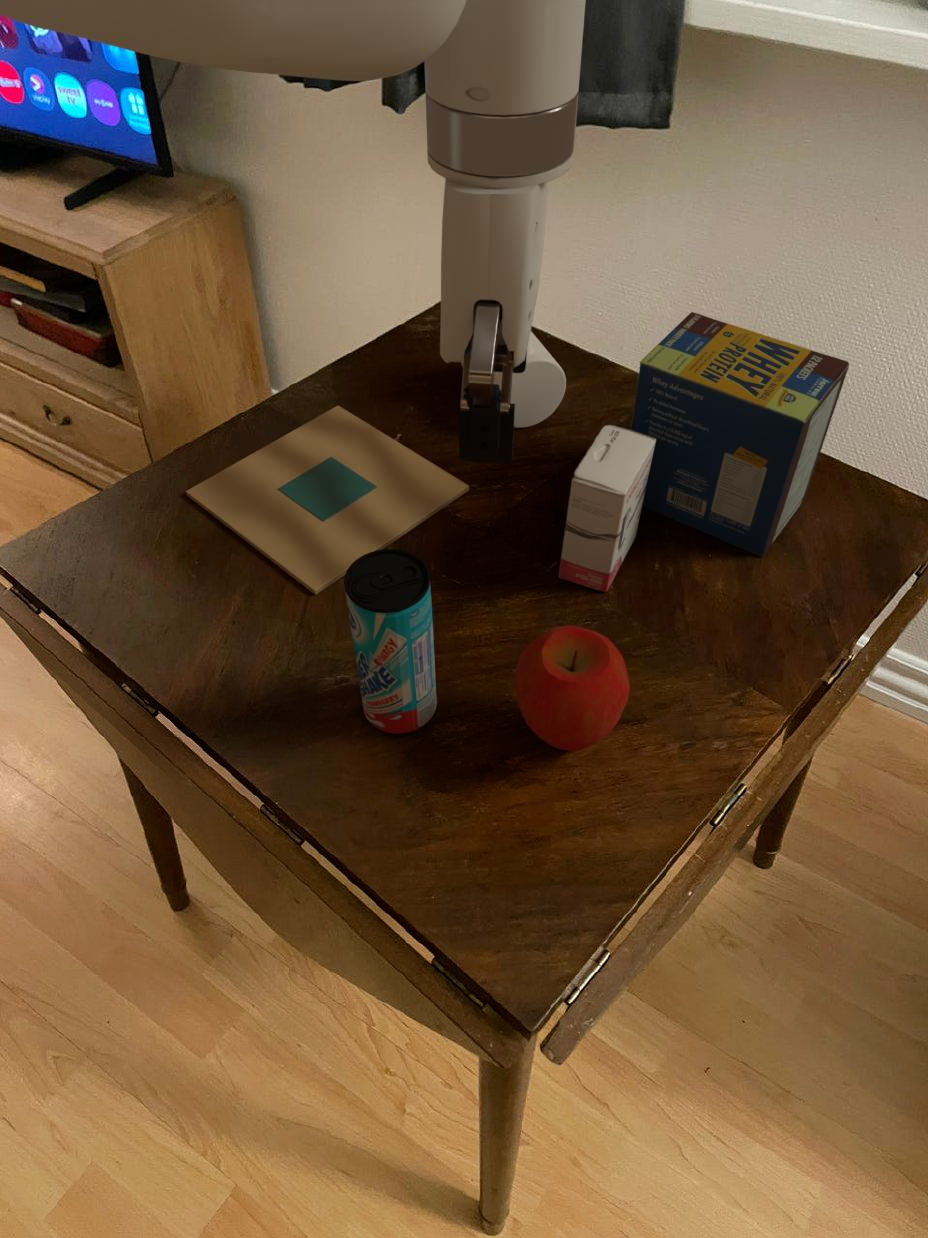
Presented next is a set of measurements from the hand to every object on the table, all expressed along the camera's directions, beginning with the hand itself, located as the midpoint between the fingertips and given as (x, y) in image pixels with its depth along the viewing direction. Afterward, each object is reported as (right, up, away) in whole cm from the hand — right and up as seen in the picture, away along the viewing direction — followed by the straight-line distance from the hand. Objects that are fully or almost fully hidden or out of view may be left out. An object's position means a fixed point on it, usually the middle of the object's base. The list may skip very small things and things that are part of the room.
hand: (494, 412), depth 60 cm
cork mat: (-16, -1, +34) cm, 37 cm away
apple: (+6, -23, +14) cm, 27 cm away
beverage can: (-7, -21, +16) cm, 27 cm away
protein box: (+22, -1, +32) cm, 40 cm away
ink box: (+11, -8, +27) cm, 30 cm away
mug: (+3, +11, +44) cm, 45 cm away
